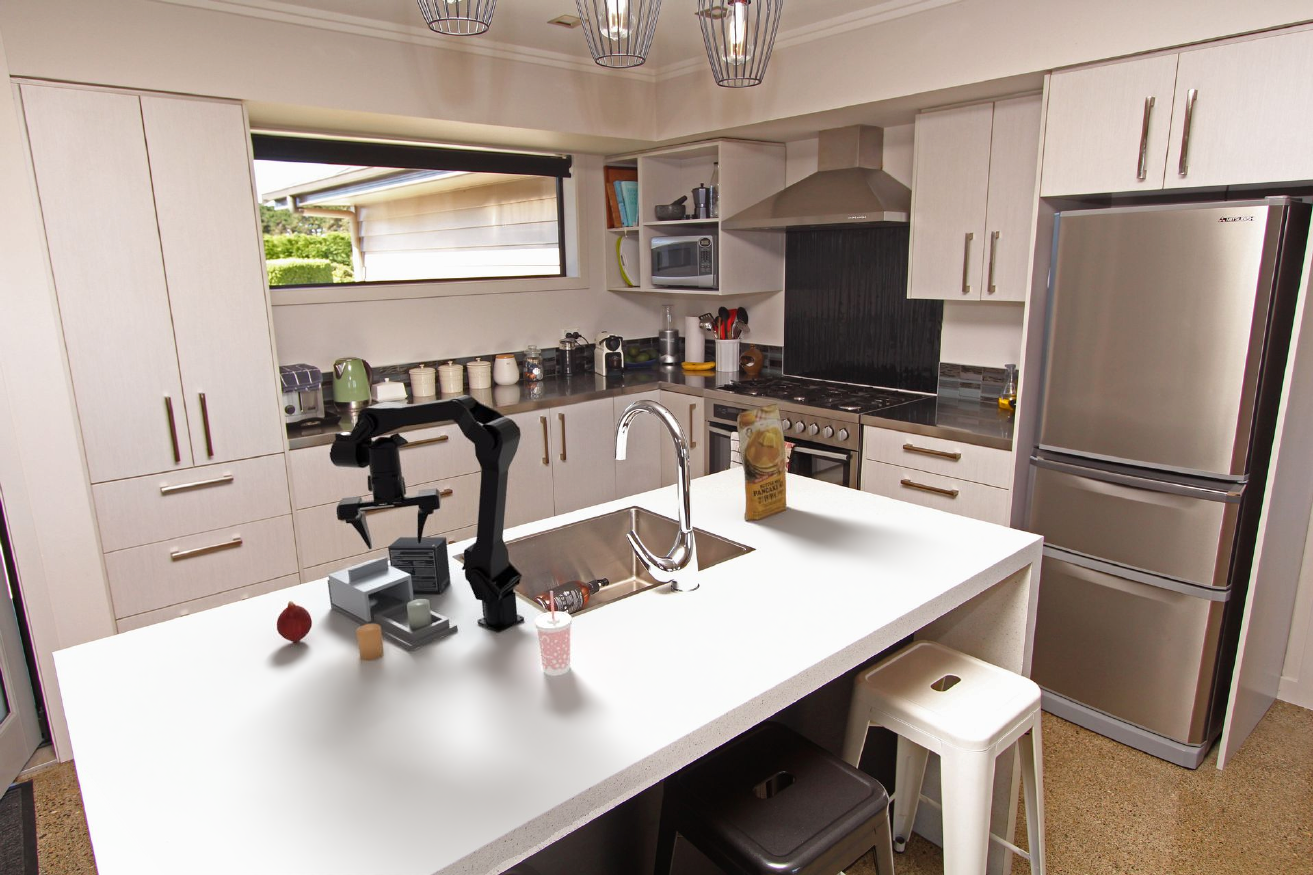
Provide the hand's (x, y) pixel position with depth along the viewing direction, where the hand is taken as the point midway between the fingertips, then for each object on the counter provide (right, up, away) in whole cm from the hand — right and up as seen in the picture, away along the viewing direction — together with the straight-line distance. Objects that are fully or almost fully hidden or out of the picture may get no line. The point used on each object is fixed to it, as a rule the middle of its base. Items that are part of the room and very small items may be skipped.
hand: (395, 545), depth 154 cm
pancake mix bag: (+79, +1, +53) cm, 95 cm away
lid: (-5, -12, +3) cm, 13 cm away
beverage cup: (+34, -18, -21) cm, 44 cm away
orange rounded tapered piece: (+1, -17, -15) cm, 23 cm away
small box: (+2, -11, +13) cm, 17 cm away
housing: (0, -14, -1) cm, 14 cm away
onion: (-15, -17, -9) cm, 24 cm away
